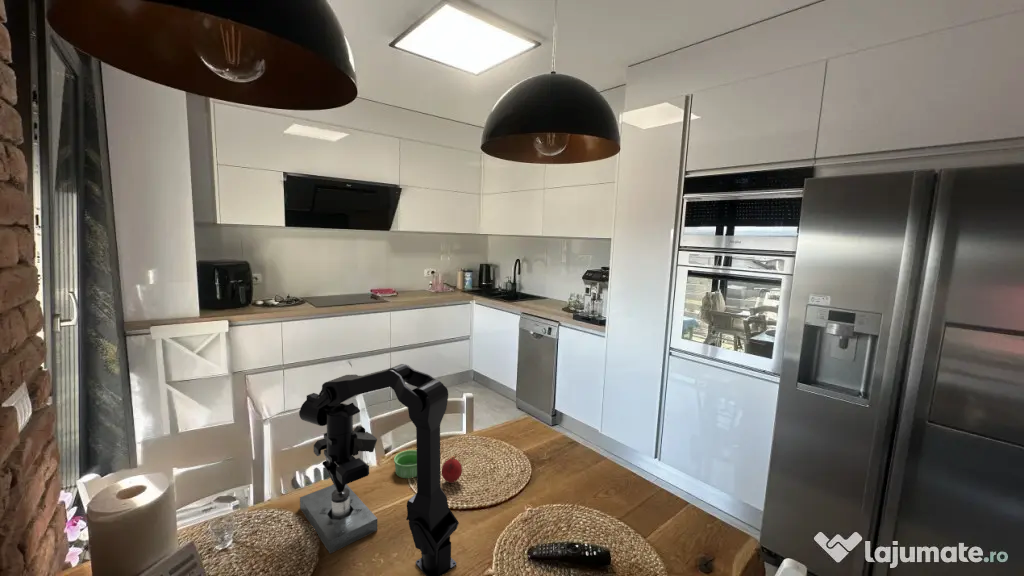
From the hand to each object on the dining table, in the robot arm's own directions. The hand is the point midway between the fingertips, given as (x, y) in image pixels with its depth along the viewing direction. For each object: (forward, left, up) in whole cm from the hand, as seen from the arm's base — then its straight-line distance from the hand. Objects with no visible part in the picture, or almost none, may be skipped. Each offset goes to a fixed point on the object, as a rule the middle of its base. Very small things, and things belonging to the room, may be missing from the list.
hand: (340, 491), depth 97 cm
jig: (+2, 0, -8) cm, 9 cm away
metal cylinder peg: (0, 0, -8) cm, 8 cm away
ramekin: (+9, -24, -9) cm, 27 cm away
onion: (-4, -30, -8) cm, 31 cm away
